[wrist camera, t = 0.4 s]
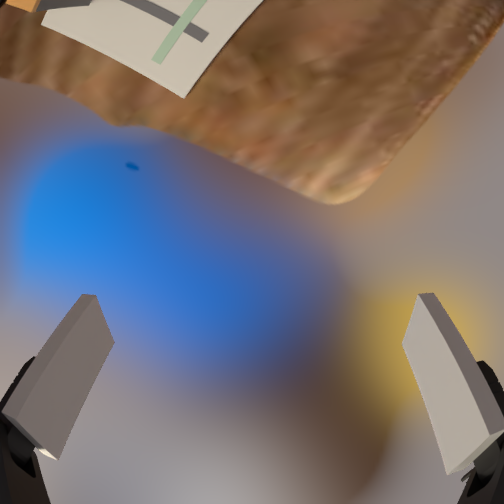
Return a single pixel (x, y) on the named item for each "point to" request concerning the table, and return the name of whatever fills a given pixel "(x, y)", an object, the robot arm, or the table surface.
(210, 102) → the table surface
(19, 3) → the lever
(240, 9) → the fader console
